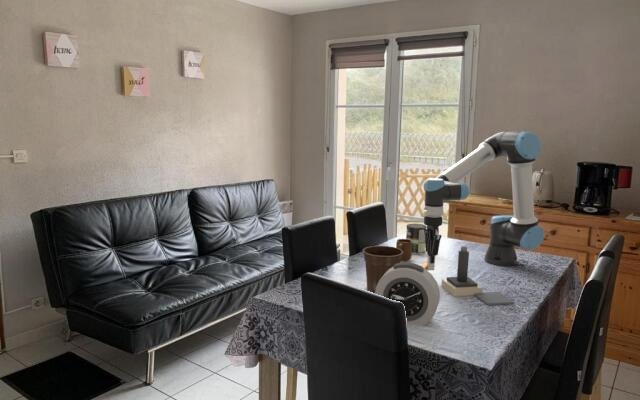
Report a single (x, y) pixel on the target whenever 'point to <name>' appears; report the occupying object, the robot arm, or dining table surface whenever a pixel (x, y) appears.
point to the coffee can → (416, 237)
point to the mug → (405, 248)
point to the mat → (493, 298)
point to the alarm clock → (411, 291)
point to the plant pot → (379, 263)
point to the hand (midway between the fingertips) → (430, 269)
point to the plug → (462, 271)
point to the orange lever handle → (424, 265)
